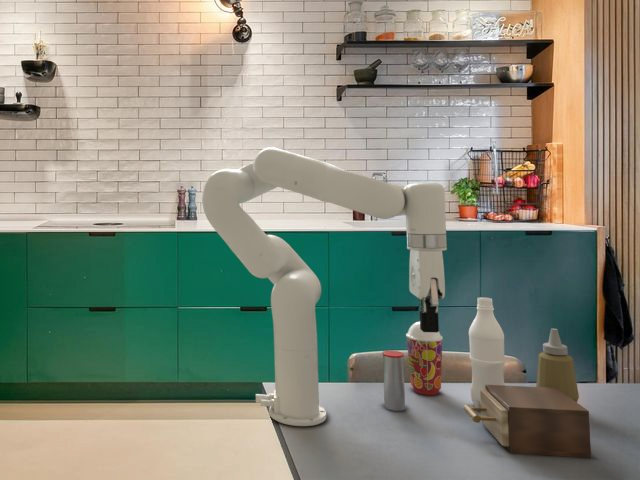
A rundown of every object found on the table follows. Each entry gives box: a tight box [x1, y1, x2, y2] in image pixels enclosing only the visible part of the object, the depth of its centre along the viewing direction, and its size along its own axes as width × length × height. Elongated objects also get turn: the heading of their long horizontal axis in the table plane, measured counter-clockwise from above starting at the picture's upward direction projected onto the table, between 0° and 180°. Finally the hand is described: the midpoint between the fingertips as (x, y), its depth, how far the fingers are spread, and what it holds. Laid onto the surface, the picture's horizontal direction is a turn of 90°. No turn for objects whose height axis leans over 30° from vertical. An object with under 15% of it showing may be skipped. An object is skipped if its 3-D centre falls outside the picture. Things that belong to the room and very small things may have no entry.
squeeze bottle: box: [535, 328, 580, 403], centre depth 128 cm, size 8×8×18 cm
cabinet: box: [485, 385, 592, 459], centre depth 112 cm, size 14×13×9 cm
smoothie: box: [405, 320, 443, 396], centre depth 140 cm, size 8×8×20 cm
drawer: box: [463, 390, 509, 447], centre depth 113 cm, size 17×11×7 cm
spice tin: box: [381, 350, 406, 412], centre depth 130 cm, size 5×5×12 cm
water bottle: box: [468, 296, 506, 407], centre depth 129 cm, size 7×7×25 cm
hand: (429, 331), depth 116 cm, fingers closed
